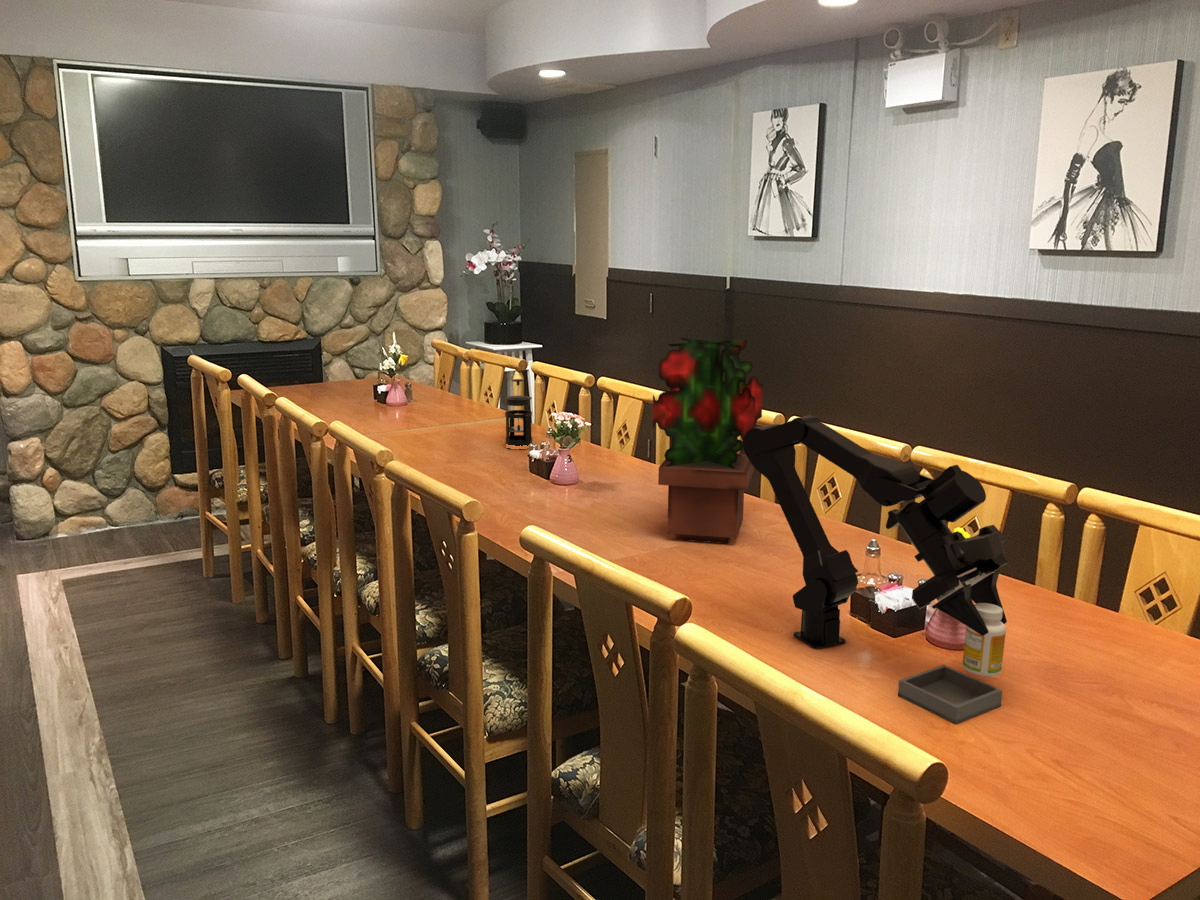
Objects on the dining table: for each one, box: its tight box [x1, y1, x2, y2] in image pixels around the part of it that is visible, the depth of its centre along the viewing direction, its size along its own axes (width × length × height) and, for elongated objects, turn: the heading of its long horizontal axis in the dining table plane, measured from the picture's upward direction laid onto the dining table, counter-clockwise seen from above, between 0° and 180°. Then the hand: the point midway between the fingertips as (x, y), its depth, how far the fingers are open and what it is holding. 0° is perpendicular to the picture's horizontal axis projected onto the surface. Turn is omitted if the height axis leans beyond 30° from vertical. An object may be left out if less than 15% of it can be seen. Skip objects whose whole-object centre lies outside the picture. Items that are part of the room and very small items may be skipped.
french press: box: [504, 378, 533, 446], centre depth 314 cm, size 12×9×23 cm
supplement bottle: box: [962, 603, 1007, 677], centre depth 138 cm, size 5×5×10 cm
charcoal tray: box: [897, 664, 1003, 725], centre depth 139 cm, size 10×10×2 cm
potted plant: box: [652, 337, 764, 544], centre depth 216 cm, size 22×22×45 cm
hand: (995, 629), depth 137 cm, fingers closed on supplement bottle, 5 cm apart
